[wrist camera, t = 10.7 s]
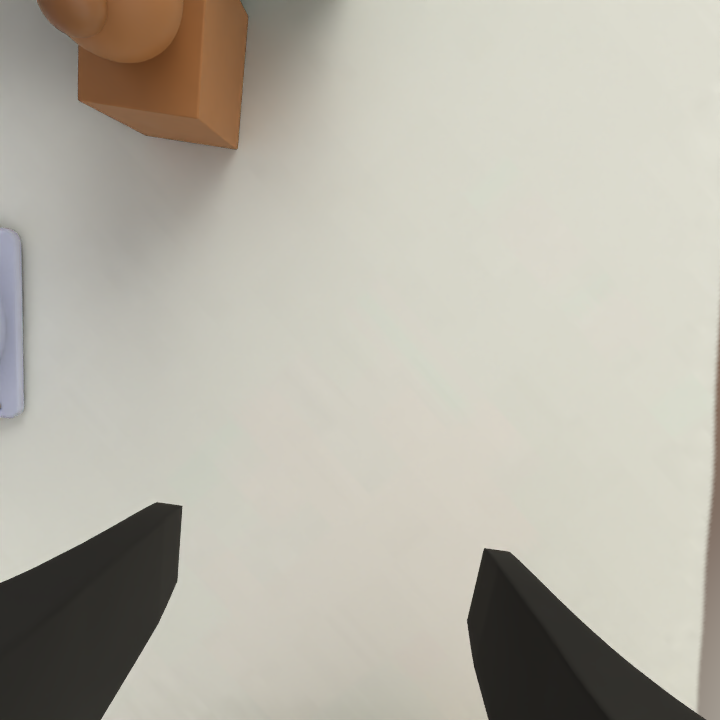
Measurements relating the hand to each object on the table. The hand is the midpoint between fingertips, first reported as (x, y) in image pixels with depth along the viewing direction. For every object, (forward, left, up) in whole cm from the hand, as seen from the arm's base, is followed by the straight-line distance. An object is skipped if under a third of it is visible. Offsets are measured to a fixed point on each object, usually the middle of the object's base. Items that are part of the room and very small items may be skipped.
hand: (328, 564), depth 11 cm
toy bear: (-8, +13, -10) cm, 18 cm away
